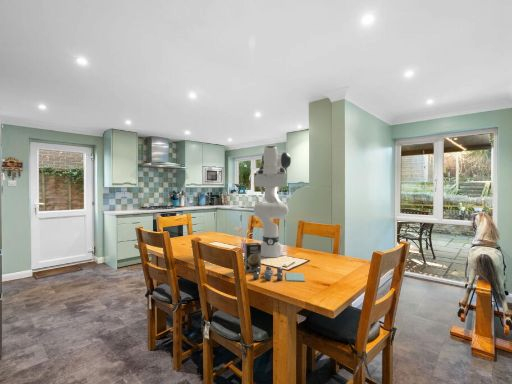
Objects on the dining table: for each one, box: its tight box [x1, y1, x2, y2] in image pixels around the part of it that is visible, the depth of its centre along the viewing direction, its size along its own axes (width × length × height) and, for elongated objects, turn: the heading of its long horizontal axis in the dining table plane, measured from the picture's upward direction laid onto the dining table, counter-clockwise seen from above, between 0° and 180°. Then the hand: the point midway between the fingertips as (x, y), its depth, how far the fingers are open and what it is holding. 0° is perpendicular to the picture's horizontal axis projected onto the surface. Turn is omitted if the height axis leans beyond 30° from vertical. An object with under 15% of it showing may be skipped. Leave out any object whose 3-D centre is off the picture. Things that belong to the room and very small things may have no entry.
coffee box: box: [243, 242, 262, 273], centre depth 159 cm, size 9×6×16 cm
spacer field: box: [252, 265, 284, 282], centre depth 148 cm, size 15×16×4 cm
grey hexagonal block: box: [263, 269, 274, 279], centre depth 149 cm, size 6×5×3 cm
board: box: [285, 272, 306, 283], centre depth 147 cm, size 12×10×1 cm
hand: (270, 194), depth 163 cm, fingers open, 8 cm apart
